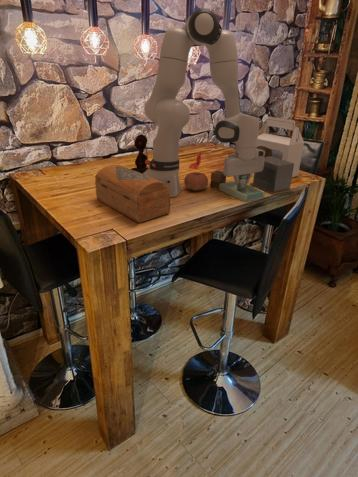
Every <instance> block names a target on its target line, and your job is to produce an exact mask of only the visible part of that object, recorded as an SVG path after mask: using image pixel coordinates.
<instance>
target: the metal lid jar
mask: <svg viewBox="0 0 358 477" xmlns="http://www.w3.org/2000/svg"><path fill="white" fill-rule="evenodd" d="M247 178H248V175H247V174H244V175H239V178H238V180H239V181H240V185H237V190H238V191H246V184H248V183H247Z"/></svg>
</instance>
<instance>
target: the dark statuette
mask: <svg viewBox="0 0 358 477" xmlns="http://www.w3.org/2000/svg"><path fill="white" fill-rule="evenodd" d="M133 142H134V144H133V145H134V146H135V148H136V149H137V150H138V153H137V156H136V158H135V162H134V164H135V167H132V168H130V169H131V170H134V171H137V172H139V173H142V174H143V173H144V172H145V171H146V170H147V169H149V166H148V165H147V164H146V163H145V161H146V160H149V155H148V148H147V144H148V138H147V136H146V135H144V134H138V135H137V136H136V137H135V140H134V141H133ZM144 151H145V153H144Z"/></svg>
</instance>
